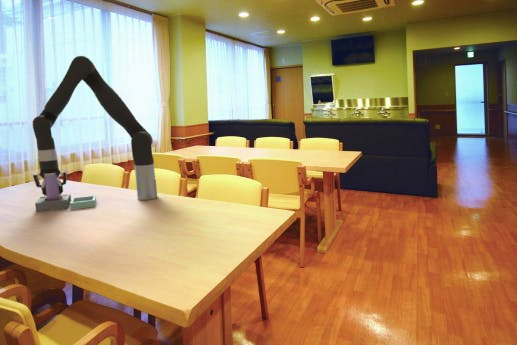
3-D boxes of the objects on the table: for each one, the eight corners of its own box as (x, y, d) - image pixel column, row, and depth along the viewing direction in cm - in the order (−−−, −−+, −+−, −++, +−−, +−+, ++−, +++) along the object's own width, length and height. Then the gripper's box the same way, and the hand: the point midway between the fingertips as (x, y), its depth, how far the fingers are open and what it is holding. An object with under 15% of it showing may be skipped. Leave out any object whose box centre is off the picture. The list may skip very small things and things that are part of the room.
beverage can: (55, 205, 170) (51, 173, 167) (44, 205, 171) (39, 173, 168) (64, 202, 175) (60, 171, 172) (53, 201, 177) (49, 171, 174)
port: (71, 201, 181) (70, 192, 181) (68, 208, 170) (67, 198, 169) (41, 205, 177) (40, 196, 176) (36, 212, 165) (34, 202, 164)
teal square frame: (96, 201, 181) (95, 195, 180) (95, 206, 171) (94, 200, 171) (73, 203, 177) (72, 197, 176) (70, 209, 167) (69, 203, 167)
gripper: (66, 156, 175) (71, 191, 178) (31, 159, 170) (37, 194, 173) (64, 158, 168) (69, 194, 171) (28, 161, 163) (34, 198, 166)
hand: (53, 194), depth 172 cm, fingers closed on beverage can, 5 cm apart
